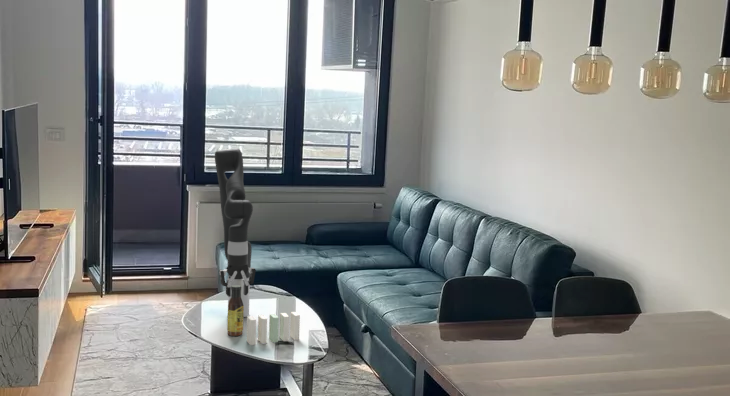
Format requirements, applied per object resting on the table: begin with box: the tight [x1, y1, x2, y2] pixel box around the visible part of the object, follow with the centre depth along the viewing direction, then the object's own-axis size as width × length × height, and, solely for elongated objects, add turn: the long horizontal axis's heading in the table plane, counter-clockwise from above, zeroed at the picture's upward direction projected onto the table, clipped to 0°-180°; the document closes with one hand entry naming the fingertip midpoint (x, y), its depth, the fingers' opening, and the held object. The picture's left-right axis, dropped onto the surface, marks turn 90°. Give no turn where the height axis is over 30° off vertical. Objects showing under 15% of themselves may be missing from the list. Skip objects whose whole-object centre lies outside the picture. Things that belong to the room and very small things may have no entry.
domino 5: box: [289, 311, 301, 341], centre depth 277 cm, size 5×2×10 cm, turn 26°
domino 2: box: [257, 314, 268, 345], centre depth 271 cm, size 5×2×10 cm, turn 26°
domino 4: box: [279, 312, 290, 342], centre depth 275 cm, size 5×2×10 cm, turn 25°
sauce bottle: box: [226, 285, 244, 337], centre depth 277 cm, size 7×6×20 cm
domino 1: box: [246, 315, 257, 346], centre depth 269 cm, size 5×2×10 cm, turn 26°
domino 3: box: [268, 313, 280, 343], centre depth 273 cm, size 5×2×10 cm, turn 26°
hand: (237, 295), depth 264 cm, fingers open, 5 cm apart
